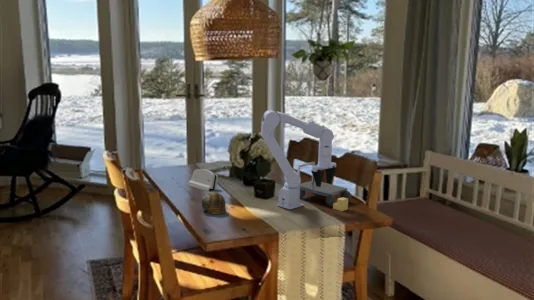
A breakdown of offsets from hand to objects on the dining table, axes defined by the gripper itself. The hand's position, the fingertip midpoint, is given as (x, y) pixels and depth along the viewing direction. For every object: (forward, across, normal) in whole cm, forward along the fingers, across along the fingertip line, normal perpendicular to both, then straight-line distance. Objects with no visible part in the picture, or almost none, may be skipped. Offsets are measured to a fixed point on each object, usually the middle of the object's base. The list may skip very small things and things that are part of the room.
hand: (323, 184), depth 222 cm
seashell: (+10, -42, +26) cm, 50 cm away
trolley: (+9, +7, +6) cm, 13 cm away
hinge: (+10, -21, +60) cm, 64 cm away
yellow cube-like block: (+10, +2, -9) cm, 13 cm away
